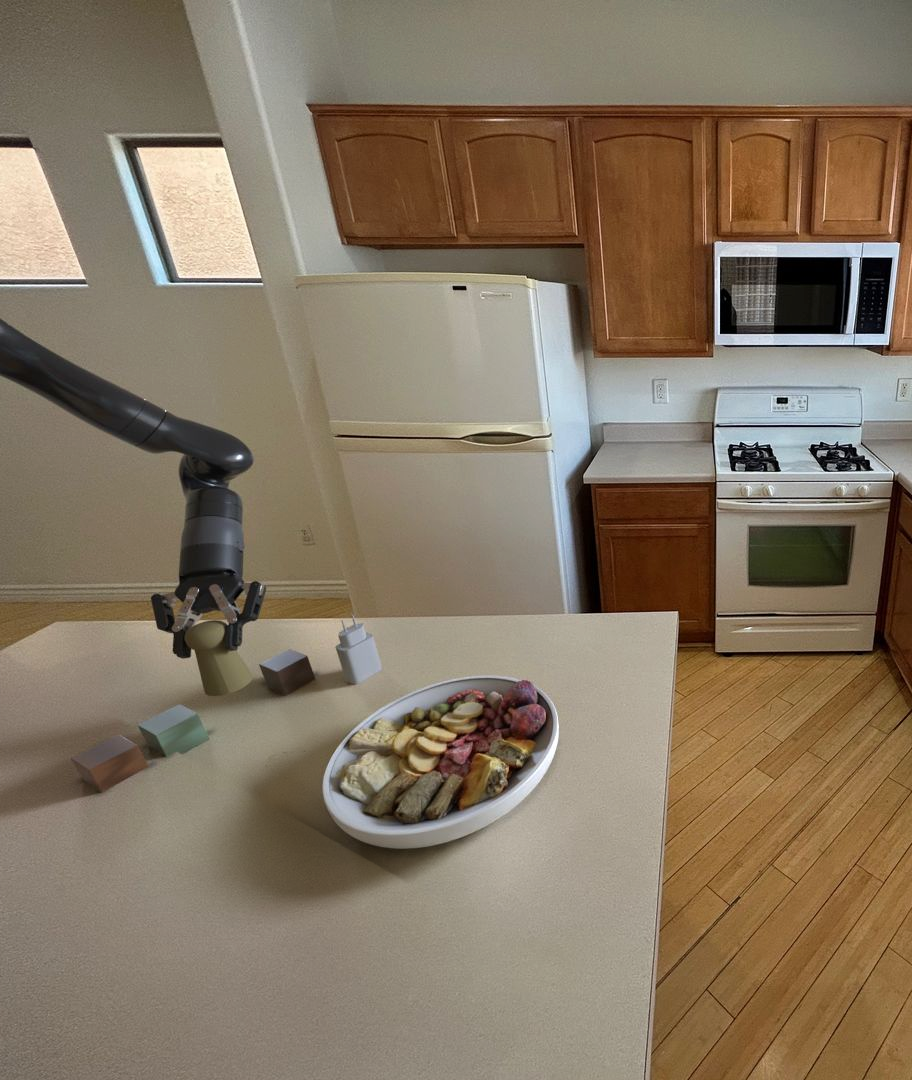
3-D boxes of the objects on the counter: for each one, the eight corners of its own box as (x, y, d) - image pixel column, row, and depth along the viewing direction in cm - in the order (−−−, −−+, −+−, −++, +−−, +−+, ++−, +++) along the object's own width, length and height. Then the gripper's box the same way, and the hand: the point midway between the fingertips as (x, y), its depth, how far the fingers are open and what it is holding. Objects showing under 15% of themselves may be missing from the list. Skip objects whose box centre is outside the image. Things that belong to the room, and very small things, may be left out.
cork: (213, 676, 90) (187, 619, 85) (258, 668, 92) (235, 611, 87) (197, 700, 84) (169, 640, 80) (245, 690, 87) (220, 631, 82)
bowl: (397, 915, 61) (380, 867, 58) (296, 781, 78) (279, 738, 74) (602, 754, 83) (599, 712, 80) (490, 676, 100) (483, 639, 96)
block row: (104, 798, 75) (88, 770, 73) (86, 785, 76) (70, 758, 74) (315, 679, 98) (307, 655, 96) (297, 671, 100) (289, 648, 98)
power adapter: (384, 668, 101) (368, 612, 96) (355, 685, 97) (337, 627, 92) (372, 663, 102) (356, 608, 97) (344, 680, 98) (325, 623, 93)
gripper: (140, 548, 83) (129, 658, 78) (255, 535, 88) (253, 639, 83) (170, 564, 90) (163, 667, 84) (276, 552, 95) (275, 649, 89)
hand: (208, 653), depth 84 cm, fingers closed on cork, 5 cm apart
